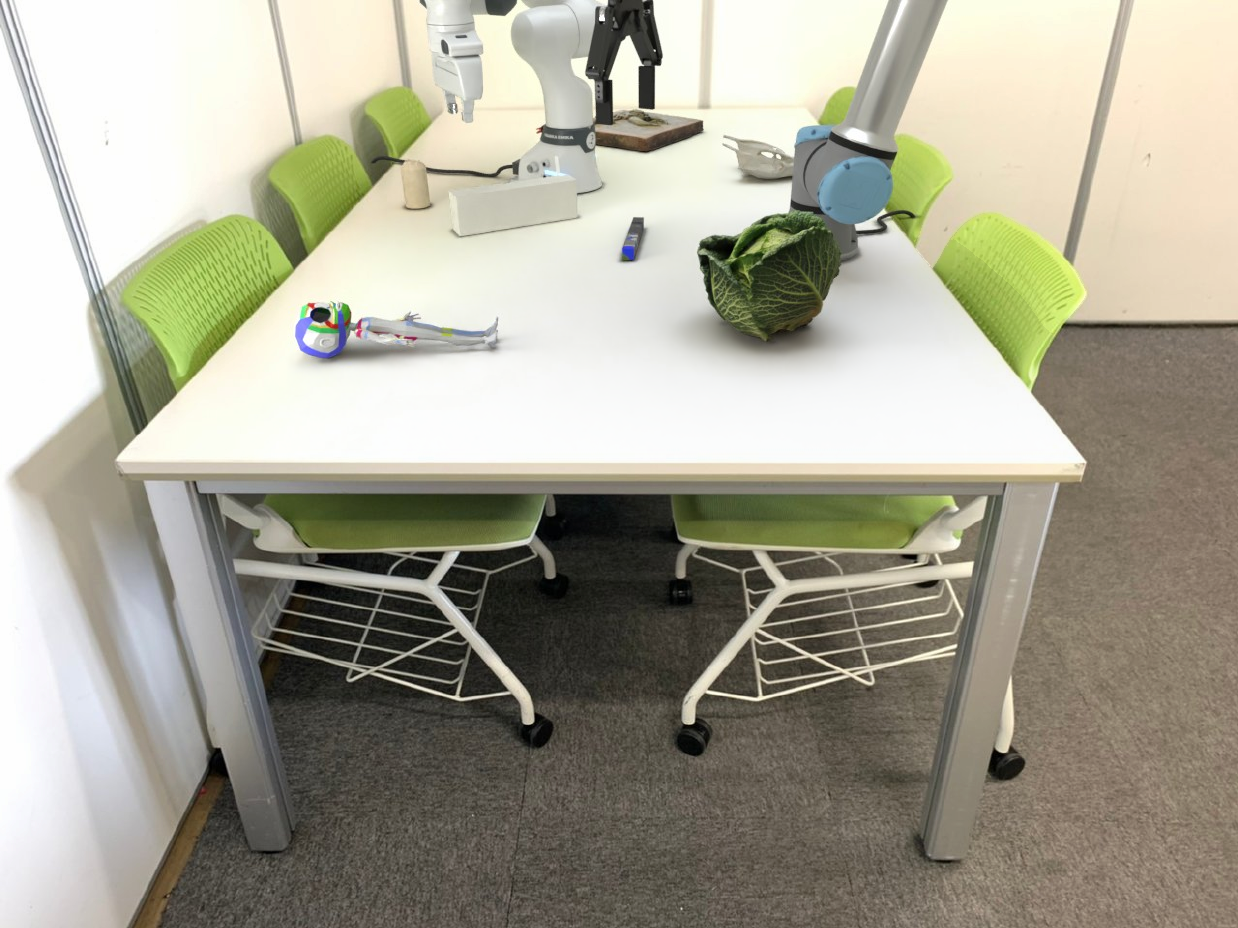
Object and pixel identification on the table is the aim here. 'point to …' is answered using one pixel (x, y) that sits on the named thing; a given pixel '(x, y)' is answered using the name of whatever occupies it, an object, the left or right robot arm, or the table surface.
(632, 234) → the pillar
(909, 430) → the table surface
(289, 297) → the table surface
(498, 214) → the bar
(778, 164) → the anatomical model
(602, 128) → the plaque
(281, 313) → the table surface
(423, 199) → the candle
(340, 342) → the toy
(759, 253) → the vegetable
